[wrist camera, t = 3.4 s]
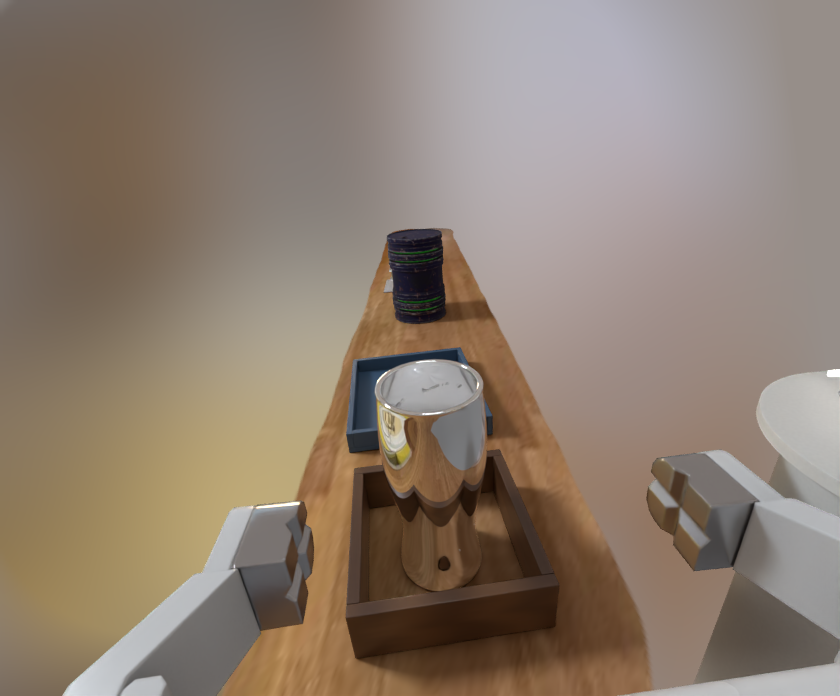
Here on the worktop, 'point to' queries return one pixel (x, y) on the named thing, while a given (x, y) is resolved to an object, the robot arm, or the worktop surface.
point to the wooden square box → (455, 608)
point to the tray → (364, 399)
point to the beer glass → (434, 466)
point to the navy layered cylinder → (417, 275)
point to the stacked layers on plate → (389, 284)
